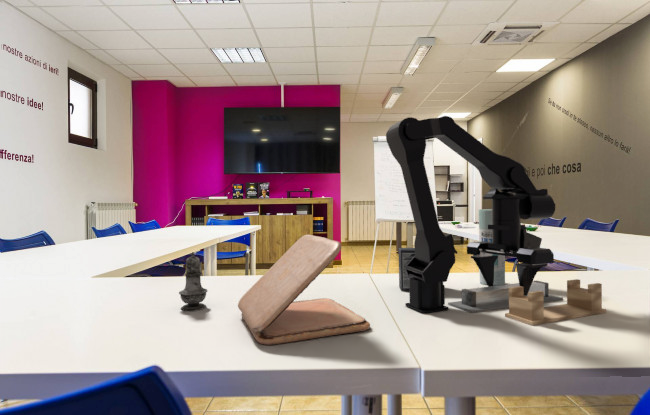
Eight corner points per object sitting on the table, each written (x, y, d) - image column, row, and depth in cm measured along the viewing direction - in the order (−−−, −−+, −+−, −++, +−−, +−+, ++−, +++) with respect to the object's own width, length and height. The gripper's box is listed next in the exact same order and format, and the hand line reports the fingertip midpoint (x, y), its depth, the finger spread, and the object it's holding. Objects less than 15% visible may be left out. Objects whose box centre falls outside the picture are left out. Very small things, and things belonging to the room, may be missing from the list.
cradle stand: (532, 325, 69) (531, 293, 69) (504, 316, 74) (504, 287, 74) (606, 312, 76) (605, 284, 76) (576, 305, 82) (576, 278, 82)
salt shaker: (173, 309, 82) (172, 253, 82) (194, 303, 88) (193, 250, 87) (193, 312, 80) (192, 254, 80) (213, 306, 85) (212, 251, 85)
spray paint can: (478, 285, 103) (478, 209, 103) (479, 280, 109) (479, 209, 109) (505, 286, 100) (505, 209, 100) (505, 282, 106) (504, 209, 106)
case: (236, 315, 79) (234, 236, 78) (332, 304, 86) (331, 231, 86) (254, 351, 59) (252, 247, 59) (376, 333, 67) (375, 240, 67)
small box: (439, 286, 102) (438, 246, 102) (444, 292, 96) (443, 249, 96) (398, 286, 103) (398, 246, 103) (400, 291, 97) (400, 249, 97)
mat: (471, 312, 77) (471, 310, 77) (448, 304, 84) (448, 302, 84) (562, 299, 87) (562, 297, 87) (535, 292, 93) (535, 291, 93)
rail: (472, 307, 80) (472, 292, 80) (461, 303, 82) (461, 289, 82) (548, 296, 88) (548, 282, 88) (536, 293, 91) (536, 280, 91)
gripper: (572, 220, 79) (573, 296, 79) (500, 217, 97) (500, 280, 97) (533, 222, 75) (533, 302, 75) (464, 219, 92) (465, 284, 93)
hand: (506, 291), depth 85 cm, fingers open, 9 cm apart
